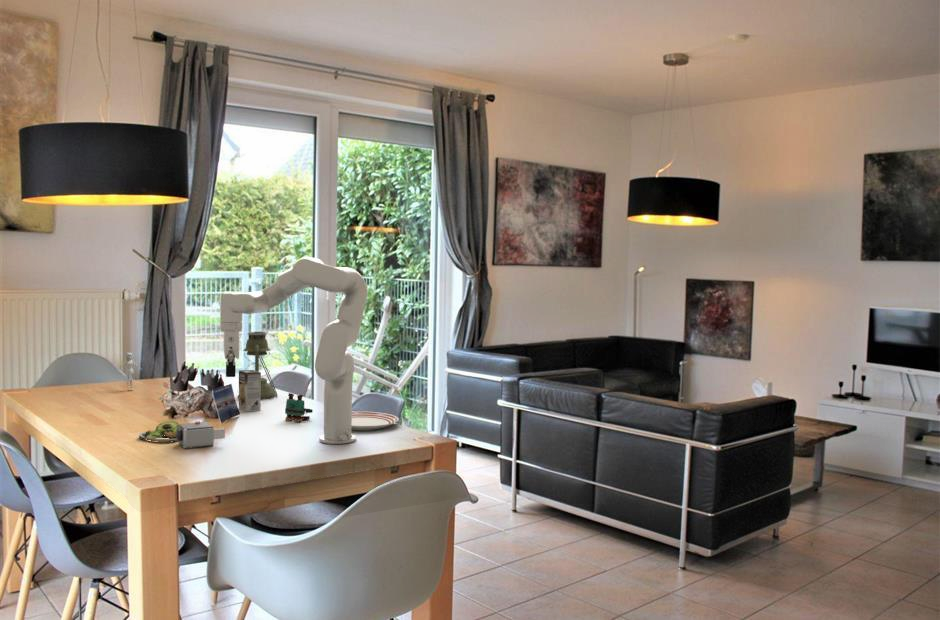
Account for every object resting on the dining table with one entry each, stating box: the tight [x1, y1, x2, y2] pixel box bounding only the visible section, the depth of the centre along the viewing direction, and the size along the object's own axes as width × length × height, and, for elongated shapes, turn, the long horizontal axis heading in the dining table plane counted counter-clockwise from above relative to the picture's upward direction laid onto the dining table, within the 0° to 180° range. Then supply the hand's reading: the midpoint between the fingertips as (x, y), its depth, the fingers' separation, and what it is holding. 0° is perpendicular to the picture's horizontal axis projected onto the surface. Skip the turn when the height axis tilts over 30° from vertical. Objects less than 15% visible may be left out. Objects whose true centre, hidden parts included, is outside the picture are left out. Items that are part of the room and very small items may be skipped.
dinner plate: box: [352, 411, 400, 431], centre depth 292 cm, size 27×27×3 cm
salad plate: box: [138, 420, 179, 443], centre depth 266 cm, size 19×18×5 cm
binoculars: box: [284, 392, 314, 423], centre depth 301 cm, size 9×11×10 cm
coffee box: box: [238, 369, 262, 412], centre depth 320 cm, size 9×6×16 cm
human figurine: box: [115, 352, 143, 389], centre depth 362 cm, size 12×4×18 cm, turn 134°
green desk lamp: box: [237, 331, 278, 401], centre depth 351 cm, size 21×18×30 cm
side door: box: [183, 427, 226, 449], centre depth 253 cm, size 1×13×6 cm, turn 121°
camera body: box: [176, 421, 214, 449], centre depth 256 cm, size 9×10×7 cm
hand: (230, 374), depth 272 cm, fingers open, 9 cm apart
